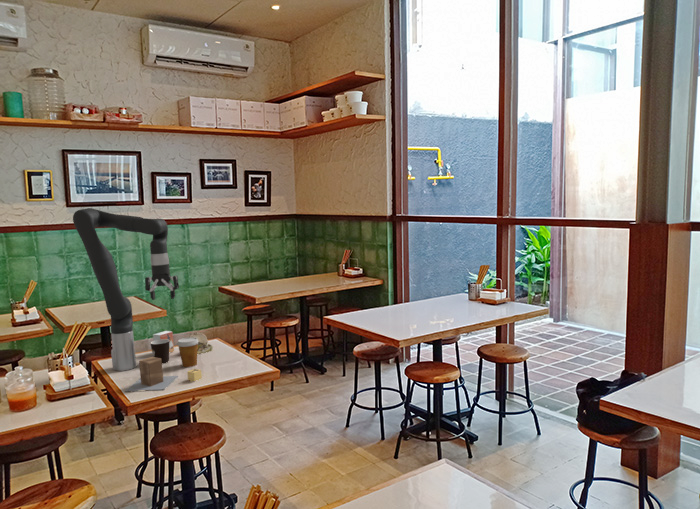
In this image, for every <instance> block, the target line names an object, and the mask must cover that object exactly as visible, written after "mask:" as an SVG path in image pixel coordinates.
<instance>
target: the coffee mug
mask: <svg viewBox="0 0 700 509" xmlns="http://www.w3.org/2000/svg"><path fill="white" fill-rule="evenodd" d="M169 342H170V340H168V339H160V340H155V341H151V342H150V348H151V352H152V357H156V358H161V360H162V363H165V364H167V363H169V362H168V361H170V353H169ZM166 362H167V363H166Z"/></svg>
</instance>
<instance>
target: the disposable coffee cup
mask: <svg viewBox="0 0 700 509" xmlns="http://www.w3.org/2000/svg"><path fill="white" fill-rule="evenodd" d="M198 342H199V341H198V339H197V338H195V337H189V336H188V337H183V338H179V339H178V340H177V343H176V345H177V346H178V350H179V355H180V360H181V364H182V367H183V368H191V367H194V366H197V364H198V355H197V350H198Z"/></svg>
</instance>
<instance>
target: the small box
mask: <svg viewBox="0 0 700 509" xmlns="http://www.w3.org/2000/svg"><path fill="white" fill-rule="evenodd" d="M160 339H168V340H170V342H169V352H171V353H174V352H175V345H174V333H173V331H171V330H164V331H161V332H156V333H154V334H152V340H153V341H155V340H160ZM173 351H174V352H173Z"/></svg>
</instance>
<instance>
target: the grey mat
mask: <svg viewBox="0 0 700 509" xmlns="http://www.w3.org/2000/svg"><path fill="white" fill-rule="evenodd" d="M178 377H179V376H178V375H168V376H167V375H163V381H164V382H161V383H159V384H156V385H154V386H147V385H142V384H141V377H140V378H138V380H136V381H135V382H134V383H132V384H131V385H130V386H129V387H127V388H126V389H125V390H124V392H125V391H132V392H139V391H138V390H154V391H165V390H166V389H167V388H168V387H170V385H171V384H172V383H173V382H174V381H176V379H177V378H178ZM166 387H167V388H166ZM165 388H166V389H165ZM162 389H163V390H162ZM164 389H165V390H164Z"/></svg>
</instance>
